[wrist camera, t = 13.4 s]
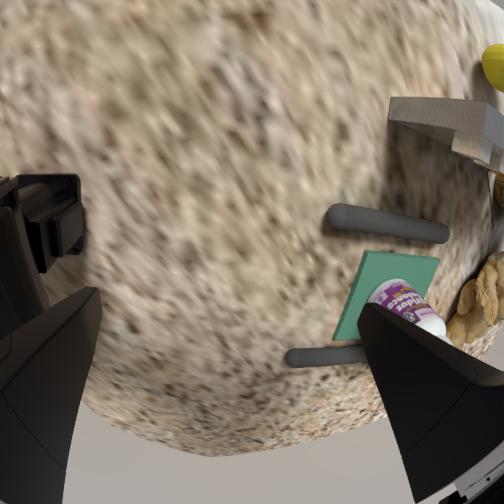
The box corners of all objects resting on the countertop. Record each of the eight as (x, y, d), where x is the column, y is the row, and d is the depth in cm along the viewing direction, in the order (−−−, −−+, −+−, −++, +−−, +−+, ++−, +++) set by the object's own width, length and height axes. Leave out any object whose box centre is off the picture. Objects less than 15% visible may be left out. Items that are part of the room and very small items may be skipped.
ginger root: (524, 231, 26) (556, 269, 20) (481, 305, 36) (502, 342, 30) (462, 239, 25) (503, 292, 19) (415, 327, 35) (437, 373, 29)
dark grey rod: (320, 222, 22) (329, 231, 21) (326, 198, 22) (336, 206, 20) (437, 239, 25) (449, 248, 23) (443, 221, 24) (455, 229, 23)
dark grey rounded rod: (281, 358, 29) (285, 372, 27) (285, 345, 28) (290, 359, 26) (387, 350, 31) (394, 361, 30) (394, 338, 31) (401, 349, 29)
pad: (333, 336, 28) (335, 340, 28) (364, 250, 24) (367, 253, 24) (403, 331, 30) (405, 334, 30) (436, 257, 26) (440, 260, 26)
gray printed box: (385, 130, 20) (479, 152, 11) (391, 96, 18) (487, 102, 10) (488, 176, 23) (555, 207, 14) (493, 151, 22) (561, 178, 13)
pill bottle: (404, 266, 25) (465, 327, 17) (410, 303, 28) (460, 362, 19) (358, 294, 26) (410, 366, 17) (369, 328, 28) (412, 395, 19)
